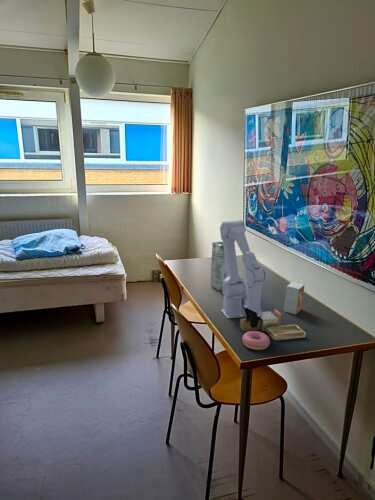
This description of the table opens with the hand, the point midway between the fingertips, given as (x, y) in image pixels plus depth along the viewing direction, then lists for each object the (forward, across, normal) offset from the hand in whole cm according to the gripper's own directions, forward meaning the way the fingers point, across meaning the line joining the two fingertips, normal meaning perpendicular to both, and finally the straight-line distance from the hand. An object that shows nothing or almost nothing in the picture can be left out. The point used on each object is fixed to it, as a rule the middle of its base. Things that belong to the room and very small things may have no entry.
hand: (251, 325), depth 158 cm
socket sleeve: (+1, 0, +7) cm, 7 cm away
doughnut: (+2, +13, -4) cm, 14 cm away
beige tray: (+1, +8, +12) cm, 15 cm away
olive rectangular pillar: (+2, 0, 0) cm, 2 cm away
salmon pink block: (+1, 0, +8) cm, 8 cm away
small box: (+2, -14, +28) cm, 31 cm away
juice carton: (+2, -50, +3) cm, 50 cm away
